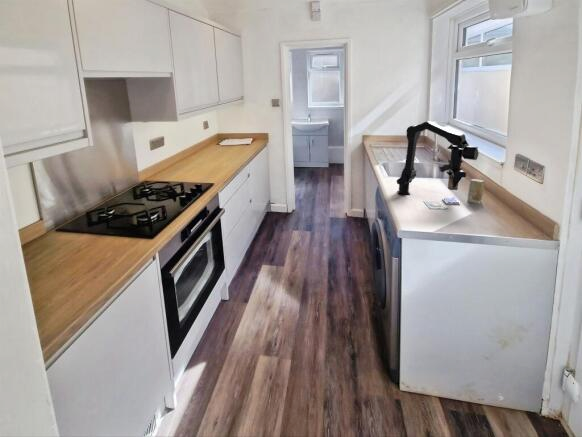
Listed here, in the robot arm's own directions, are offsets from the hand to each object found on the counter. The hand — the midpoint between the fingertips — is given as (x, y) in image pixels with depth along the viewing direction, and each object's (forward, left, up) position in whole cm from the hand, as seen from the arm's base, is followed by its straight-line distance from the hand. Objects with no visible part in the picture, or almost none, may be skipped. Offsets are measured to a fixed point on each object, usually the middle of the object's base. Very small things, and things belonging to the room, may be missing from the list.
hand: (452, 186), depth 225 cm
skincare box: (-1, +13, -9) cm, 16 cm away
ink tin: (0, 0, -9) cm, 9 cm away
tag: (+6, -10, -9) cm, 15 cm away
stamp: (0, 0, -1) cm, 1 cm away
